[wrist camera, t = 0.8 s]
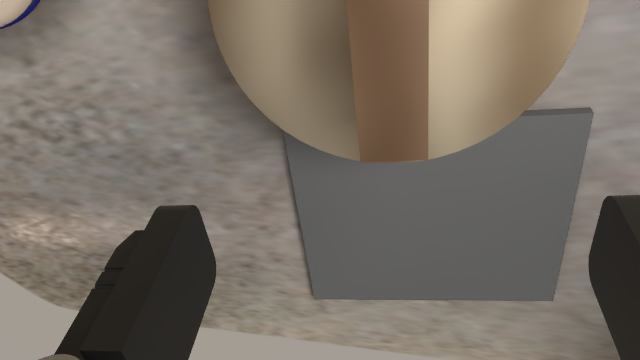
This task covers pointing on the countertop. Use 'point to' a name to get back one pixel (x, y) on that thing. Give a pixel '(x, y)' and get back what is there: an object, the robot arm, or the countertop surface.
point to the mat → (444, 215)
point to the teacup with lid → (15, 11)
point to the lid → (394, 68)
